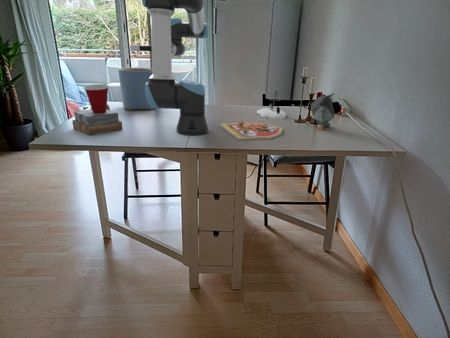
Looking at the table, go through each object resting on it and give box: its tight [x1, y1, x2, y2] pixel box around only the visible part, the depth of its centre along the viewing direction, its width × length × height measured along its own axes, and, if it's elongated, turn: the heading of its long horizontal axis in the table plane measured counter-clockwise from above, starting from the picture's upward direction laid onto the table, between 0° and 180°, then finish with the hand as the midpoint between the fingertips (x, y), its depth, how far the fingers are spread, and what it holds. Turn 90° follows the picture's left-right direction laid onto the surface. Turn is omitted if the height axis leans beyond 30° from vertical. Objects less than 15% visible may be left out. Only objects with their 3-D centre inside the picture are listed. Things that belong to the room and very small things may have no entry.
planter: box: [117, 67, 155, 111], centre depth 191 cm, size 23×23×24 cm
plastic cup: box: [83, 84, 110, 113], centre depth 139 cm, size 11×11×12 cm
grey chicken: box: [310, 93, 336, 131], centre depth 159 cm, size 14×15×18 cm
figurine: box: [256, 89, 287, 120], centre depth 185 cm, size 20×18×16 cm
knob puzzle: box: [218, 120, 283, 141], centre depth 151 cm, size 29×30×4 cm
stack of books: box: [71, 109, 124, 137], centre depth 142 cm, size 16×16×8 cm
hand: (142, 48), depth 144 cm, fingers open, 13 cm apart
